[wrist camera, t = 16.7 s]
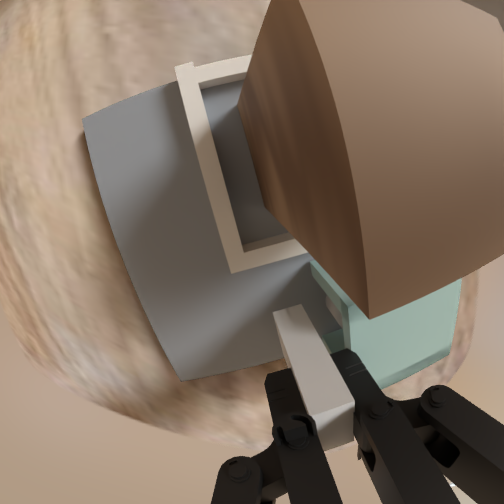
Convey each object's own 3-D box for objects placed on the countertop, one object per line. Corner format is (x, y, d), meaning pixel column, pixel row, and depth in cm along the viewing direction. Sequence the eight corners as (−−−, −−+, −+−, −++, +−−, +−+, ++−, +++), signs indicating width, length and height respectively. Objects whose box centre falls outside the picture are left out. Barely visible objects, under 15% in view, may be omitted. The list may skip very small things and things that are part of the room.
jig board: (90, 116, 12) (61, 108, 9) (370, 55, 12) (399, 38, 9) (182, 369, 17) (178, 404, 14) (406, 301, 17) (432, 324, 14)
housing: (309, 261, 14) (348, 306, 9) (405, 232, 14) (462, 260, 10) (323, 345, 16) (352, 401, 11) (406, 313, 16) (449, 354, 11)
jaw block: (236, 105, 12) (282, -33, 2) (335, 88, 12) (497, 18, 2) (264, 207, 13) (369, 319, 4) (358, 182, 13) (534, 234, 4)
